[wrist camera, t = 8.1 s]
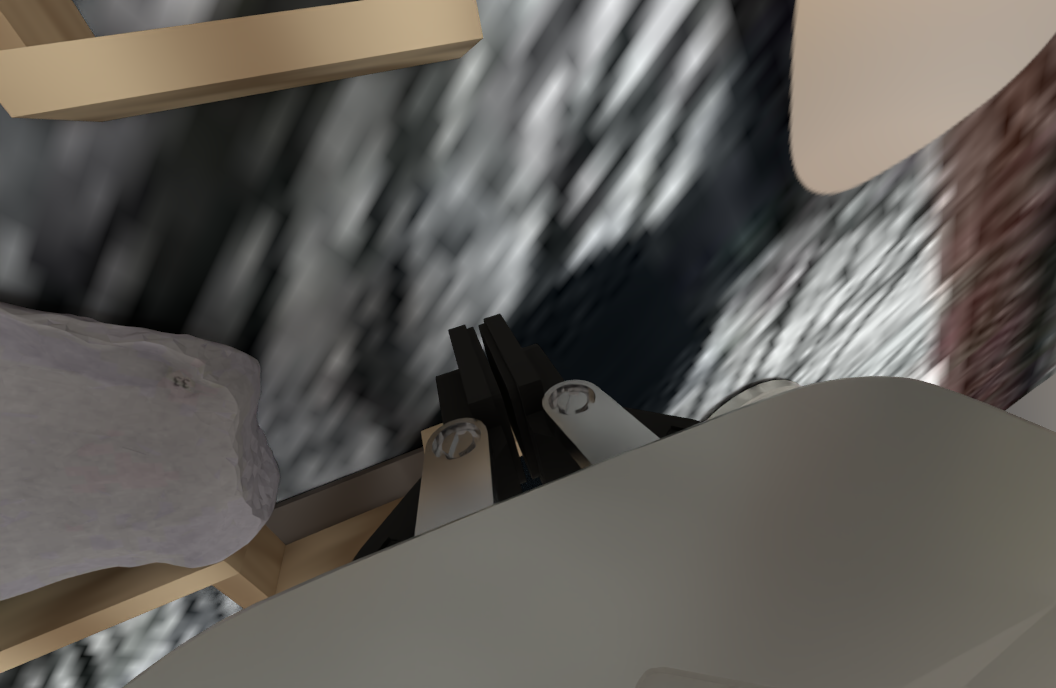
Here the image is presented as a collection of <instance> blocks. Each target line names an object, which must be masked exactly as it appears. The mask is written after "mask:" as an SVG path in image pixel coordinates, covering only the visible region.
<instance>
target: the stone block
mask: <svg viewBox="0 0 1056 688" xmlns="http://www.w3.org/2000/svg"><path fill="white" fill-rule="evenodd" d="M260 374H261V368H260V364H259V362H258V360H257V359H255V358H253V357H252V356H249V355H248V354H246V353H244V352H242V351H240V350H237V349H235V348H233V347H230V346H227V345H224V344H221V343H216V342H210V341H208V340H204V339H201V338H197V337H194V336H191V335H188V334H171V333H165V332H160V331H155V330H151V329H146V328H139V327H127V326H120V325H113V324H106V323H101V322H98V321H96V320H94V319H92V318H89V317H79V316H76V315H73V314H59V313H52V312H44V311H39V310H34V309H28V308H24V307H20V306H16V305H12V304H8V303H3V302H0V601H2V600H5V599H8V598H11V597H15V596H18V595H21V594H24V593H27V592H30V591H33V590H35V589H38V588H41V587H43V586H46V585H49V584H52V583H55V582H58V581H61V580H63V579H66V578H70V577H74V576H77V575H81V574H85V573H89V572H93V571H97V570H101V569H106V568H111V567H117V566H119V567H136V566H141V565H146V564H150V563H155V562H158V563H168V564H172V565H176V566H181V567H187V568H198V567H203V566H207V565H211V564H215V563H218V562H220V561H223V560H224V559H226V558H227V557H229V556H230V555H232V554H233V553H235V552H236V551H238V550H239V549H241V548H242V547H244V546H245V545H247V544H248V543H249V542H250V541H251V540H252V539H253V538H254V537H255V536H256V535H257V534H258V532H259V531H260V530H261V528H262V527H263V526H264V525H265V523H266V522H267V521H268V520H269V518H270V516H271V514H272V512H273V510H274V507H275V502H276V498H277V492H278V485H279V481H280V474H279V470H278V466H277V463H276V461H275V459H274V457H273V452H272V450H271V449H270V447H269V445H268V443H267V439H266V436H265V434H264V432H263V430H262V429H261V428H260V427H259V426H258V421H257V416H256V415H257V408H258V401H259V399H260V396H261V381H260Z"/></svg>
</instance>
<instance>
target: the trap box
mask: <svg viewBox="0 0 1056 688" xmlns="http://www.w3.org/2000/svg"><path fill="white" fill-rule="evenodd" d="M481 39H483V35H482V29H481V24H480V19H479V13H478V8H477V3H476V0H363V1H355V2H348V3H341V4H334V5H326V6H319V7H312V8H305V9H298V10H290V11H283V12H276V13H269V14H261V15H254V16H247V17H240V18H232V19H225V20H218V21H211V22H203V23H196V24H189V25H182V26H174V27H167V28H160V29H153V30H145V31H138V32H131V33H124V34H116V35H109V36H102V37H95V36H94V35H93V33H92V31H91V30H90V28H89V27H88V25H87V24H86V22H85V20H84V19H83V17H82V16H81V14H80V13H79V11H78V9H77V8H76V6H75V5H74V3H73V1H72V0H0V103H1V105H2V106H3V107H4V108H5V110H6V111H7V112H8V113H9V115H10V116H11V117H12V118H32V119H53V120H74V121H95V122H103V121H109V120H114V119H120V118H126V117H131V116H137V115H142V114H148V113H154V112H159V111H165V110H171V109H176V108H182V107H187V106H193V105H199V104H204V103H210V102H216V101H221V100H227V99H232V98H238V97H244V96H249V95H255V94H260V93H266V92H272V91H277V90H283V89H289V88H294V87H300V86H305V85H311V84H317V83H322V82H328V81H333V80H339V79H345V78H350V77H356V76H362V75H367V74H373V73H378V72H384V71H390V70H395V69H401V68H406V67H412V66H418V65H423V64H429V63H435V62H440V61H446V60H451V59H457V58H461V57H462V56H463V55H464V54H466V53H467V52H468V51H469V50H470V49H471V48H472V47H473V46H475V45H476V44H477V43H478V42H479V41H480V40H481ZM441 426H443V423H441V424H439V425H436V426H433V427H431V428H428V429H425V430H423V431H421V435H422V441H423V447H421V448H418V449H416V450H413V451H411V452H408V453H405V454H403V455H400V456H398V457H395V458H393V459H390V460H387V461H385V462H382V463H380V464H377V465H375V466H372V467H369V468H367V469H364V470H362V471H359V472H357V473H354V474H352V475H349V476H346V477H344V478H341V479H339V480H336V481H334V482H331V483H328V484H326V485H323V486H321V487H318V488H316V489H313V490H310V491H308V492H305V493H303V494H300V495H298V496H295V497H292V498H290V499H287V500H285V501H282V502H280V503H277V504H275V507H274V510H273V512H272V514H271V516H270V518H269V520H268V521H267V522H266V523H265V525H264V526H263V527H262V528H261V530H260V531H259V532H258V534H257V535H256V536H255V537H254V538H253V539H252V540H251V541H250V542H249V543H248V544H247V545H245V546H244V547H242V548H241V549H239V550H238V551H236V552H235V553H233V554H232V555H230V556H229V557H227V558H226V559H224V560H223V561H220V562H218V563H215V564H211V565H207V566H203V567H198V568H187V567H181V566H176V565H172V564H168V563H158V562H155V563H150V564H146V565H141V566H136V567H119V566H117V567H111V568H106V569H101V570H97V571H93V572H89V573H85V574H81V575H77V576H74V577H70V578H66V579H63V580H61V581H58V582H55V583H52V584H49V585H46V586H43V587H41V588H38V589H35V590H33V591H30V592H27V593H24V594H21V595H18V596H15V597H11V598H8V599H5V600H2V601H0V673H2V672H4V671H6V670H9V669H11V668H14V667H16V666H18V665H21V664H23V663H26V662H28V661H30V660H33V659H35V658H38V657H40V656H42V655H45V654H47V653H50V652H52V651H54V650H57V649H59V648H62V647H64V646H66V645H69V644H71V643H74V642H76V641H78V640H81V639H83V638H86V637H88V636H90V635H93V634H95V633H98V632H100V631H102V630H105V629H107V628H110V627H112V626H114V625H117V624H119V623H122V622H124V621H126V620H129V619H131V618H134V617H136V616H138V615H141V614H143V613H146V612H148V611H150V610H153V609H155V608H158V607H160V606H162V605H165V604H167V603H170V602H172V601H174V600H177V599H179V598H182V597H184V596H186V595H189V594H191V593H194V592H196V591H198V590H201V589H203V588H206V587H208V586H210V585H213V586H214V587H215V588H217V589H218V590H219V591H221V592H222V593H224V594H225V595H226V596H228V597H229V598H230V599H232V600H233V601H234V602H236V603H237V604H238V605H240V606H241V607H242V608H244V609H245V608H247V607H249V606H251V605H253V604H255V603H257V602H259V601H261V600H264V599H266V598H268V597H271V596H273V595H275V594H277V593H280V592H282V591H284V590H286V589H289V588H291V587H293V586H296V585H298V584H300V583H302V582H305V581H307V580H309V579H312V578H314V577H316V576H318V575H321V574H323V573H325V572H328V571H330V570H333V569H335V568H338V567H340V566H343V565H345V564H347V563H350V562H352V560H353V559H354V557H355V556H356V554H357V553H358V551H359V550H360V549H361V547H362V546H363V545H364V544H365V543H366V541H367V540H368V539H369V538H370V537H371V536H372V534H373V533H374V532H375V531H376V530H377V528H378V527H379V526H380V525H381V524H382V523H383V521H384V520H385V519H386V518H387V517H388V515H389V514H390V513H391V512H392V511H393V509H394V508H395V507H396V506H397V505H398V504H399V502H400V501H401V500H402V499H403V498H404V496H405V495H406V494H407V493H408V492H409V491H410V489H411V488H412V487H413V486H414V485H415V483H416V482H417V481H418V480H419V479H420V478H421V476H422V470H423V462H424V454H425V447H426V444H427V441H428V439H429V438H430V436H431V435H432V434H433V433H434V432H435V431H436V430H437V429H438V428H439V427H441ZM511 429H512V428H511ZM512 432H513V430H512ZM513 436H514V439H515V443H516V446H517V450H518V453H519V457H520V456H522V452H521V450H520V448H519V445H518V443H517V440H516V438H515V435H514V433H513Z"/></svg>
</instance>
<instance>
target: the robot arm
mask: <svg viewBox="0 0 1056 688" xmlns="http://www.w3.org/2000/svg"><path fill="white" fill-rule="evenodd" d="M478 326H479V330H480V333H481V337H482V340H483V344H484V347H485V350H486V354H487V357H488V361H489V363H488V361H487V359H486V356H485V354H484V351H483V349H482V347H481V344H480V342H479V340H478V337H477V335H476V332H475V330H474V328H473V327H471V328H468V329H467V328H466V326H465V325H462V326H459V327H456V328H452V329H449V330H448V331H449V335H450V339H451V342H452V346H453V350H454V353H455V357H456V361H457V364H458V368H459V369H458V370H455V371H452V372H448V373H445V374H442V375H439V376H436V383H437V389H438V395H439V402H440V408H441V414H442V421H443V426H441V427H439V428H438V429H437V430H436V431H435V432H434V433H433V434H432V435H431V436H430V438H429V439H428V441H427V444H426V447H425V454H424V462H423V470H422V476H421V478H420V479H419V480H418V481H417V482H416V483H415V485H414V486H413V487H412V488H411V489H410V491H409V492H408V493H407V494H406V495H405V496H404V498H403V499H402V500H401V501H400V502H399V504H398V505H397V506H396V507H395V508H394V509H393V511H392V512H391V513H390V514H389V515H388V517H387V518H386V519H385V520H384V521H383V523H382V524H381V525H380V526H379V527H378V528H377V530H376V531H375V532H374V533H373V534H372V536H371V537H370V538H369V539H368V540H367V541H366V543H365V544H364V545H363V546H362V547H361V549H360V550H359V551H358V553H357V554H356V556H355V557H354V559H353V560H352V562H350V563H347V564H345V565H343V566H340V567H338V568H335V569H333V570H330V571H328V572H325V573H323V574H321V575H318V576H316V577H314V578H312V579H309V580H307V581H305V582H302V583H300V584H298V585H296V586H293V587H291V588H289V589H286V590H284V591H282V592H280V593H277V594H275V595H273V596H271V597H268V598H266V599H264V600H261V601H259V602H257V603H255V604H253V605H251V606H249V607H247V608H245V609H243V610H241V611H239V612H237V613H235V614H233V615H231V616H229V617H227V618H225V619H223V620H221V621H219V622H218V623H216V624H214V625H213V626H211V627H209V628H208V629H206V630H204V631H203V632H201V633H199V634H198V635H196V636H194V637H193V638H191V639H189V640H188V641H186V642H185V643H183V644H181V645H180V646H178V647H177V648H175V649H174V650H172V651H171V652H170V653H168V654H167V655H165V656H164V657H163V658H161V659H160V660H158V661H157V662H156V663H154V664H153V665H152V666H150V667H149V668H147V669H146V670H145V671H143V672H142V673H140V674H139V675H138V676H136V677H135V678H134V679H133V680H131V681H130V682H129V683H128V684H126V685H125V686H124V687H123V688H1056V432H1054V431H1051V430H1049V429H1046V428H1044V427H1042V426H1040V425H1037V424H1035V423H1032V422H1030V421H1027V420H1025V419H1023V418H1020V417H1018V416H1016V415H1013V414H1010V413H1008V412H1006V411H1004V410H1001V409H999V408H996V407H993V406H991V405H988V404H986V403H983V402H981V401H978V400H976V399H973V398H971V397H968V396H965V395H963V394H960V393H957V392H954V391H951V390H948V389H946V388H943V387H940V386H937V385H934V384H931V383H927V382H924V381H920V380H916V379H911V378H904V377H891V376H865V377H851V378H841V379H835V380H829V381H824V382H818V383H813V384H809V385H805V386H800V385H799V384H797V383H795V382H793V381H789V380H772V381H768V382H765V383H761V384H758V385H756V386H753V387H751V388H749V389H747V390H745V391H743V392H741V393H740V394H738V395H736V396H735V397H733V398H732V399H730V400H729V401H728V402H726V403H725V404H724V405H722V406H721V407H720V408H719V409H717V410H716V411H715V412H714V413H713V414H712V415H711V416H710V417H709V418H708V419H707V420H706V421H704V422H700V421H696V420H693V419H688V418H682V417H677V416H671V415H665V414H660V413H654V412H648V411H643V410H637V409H631V408H626V407H621V406H620V405H619V404H618V403H616V402H615V401H614V400H613V399H612V398H610V397H609V396H608V395H607V394H606V393H604V392H603V391H602V390H601V389H600V388H598V387H597V386H596V385H594V384H592V383H590V382H587V381H583V380H570V381H564V379H563V378H562V377H561V375H560V374H559V373H558V371H557V370H556V368H555V367H554V366H553V364H552V363H551V361H550V360H549V359H548V357H547V356H546V355H545V353H544V352H543V350H542V349H541V348H540V346H539V345H538V344H534V345H531V346H528V347H524V348H521V346H520V345H519V343H518V341H517V340H516V338H515V337H514V335H513V333H512V332H511V330H510V328H509V327H508V325H507V324H506V322H505V320H504V319H503V317H502V316H501V314H498V315H494V316H491V317H488V318H485V319H484V324H481V325H478ZM489 364H490V366H489ZM490 367H491V368H490ZM511 428H512V429H511ZM512 430H513V432H512ZM513 433H514V435H515V438H516V440H517V443H518V445H519V448H520V450H521V452H522V455H523V457H524V460H525V462H526V465H527V467H528V470H529V472H530V475H531V477H532V479H534V478H537V477H540V479H541V482H542V484H543V485H541V486H539V487H536V488H534V489H531V490H529V491H526V492H524V493H523V492H522V489H521V485H520V484H522V483H524V482H527V481H526V477H525V474H524V470H523V467H522V463H521V460H520V457H519V453H518V450H517V446H516V443H515V439H514V436H513Z"/></svg>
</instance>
